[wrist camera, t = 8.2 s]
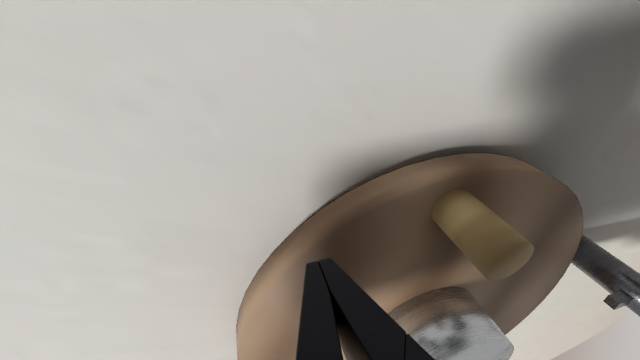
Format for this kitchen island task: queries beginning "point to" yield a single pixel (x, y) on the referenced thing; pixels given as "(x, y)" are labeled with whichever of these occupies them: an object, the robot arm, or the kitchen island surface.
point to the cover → (452, 326)
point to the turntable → (424, 245)
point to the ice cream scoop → (609, 275)
